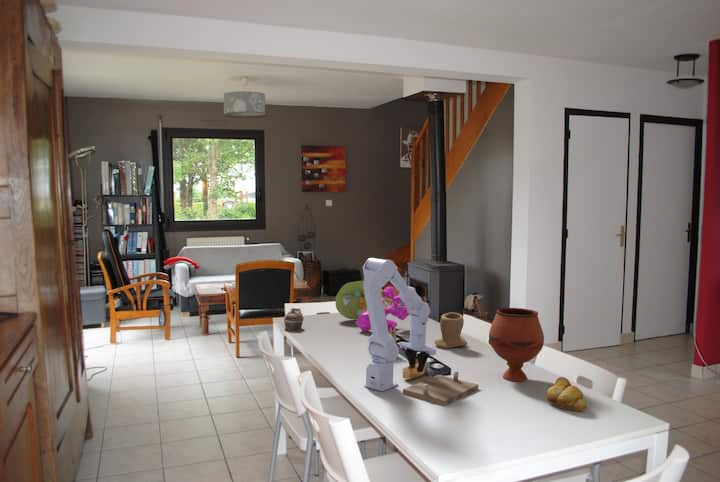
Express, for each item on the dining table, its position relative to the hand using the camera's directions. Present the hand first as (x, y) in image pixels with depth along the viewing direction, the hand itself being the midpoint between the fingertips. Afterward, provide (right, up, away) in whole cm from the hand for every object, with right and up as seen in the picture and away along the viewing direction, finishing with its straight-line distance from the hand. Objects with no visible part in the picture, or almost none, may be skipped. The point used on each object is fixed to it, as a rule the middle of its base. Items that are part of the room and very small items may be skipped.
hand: (416, 370), depth 203 cm
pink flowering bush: (-14, +3, +82) cm, 83 cm away
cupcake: (-53, +4, +72) cm, 90 cm away
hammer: (0, -2, 0) cm, 2 cm away
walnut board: (+7, -3, -15) cm, 17 cm away
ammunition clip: (-11, 0, +26) cm, 29 cm away
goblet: (+36, -3, +1) cm, 36 cm away
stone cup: (+20, 0, +45) cm, 49 cm away
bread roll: (+44, -5, -27) cm, 52 cm away
